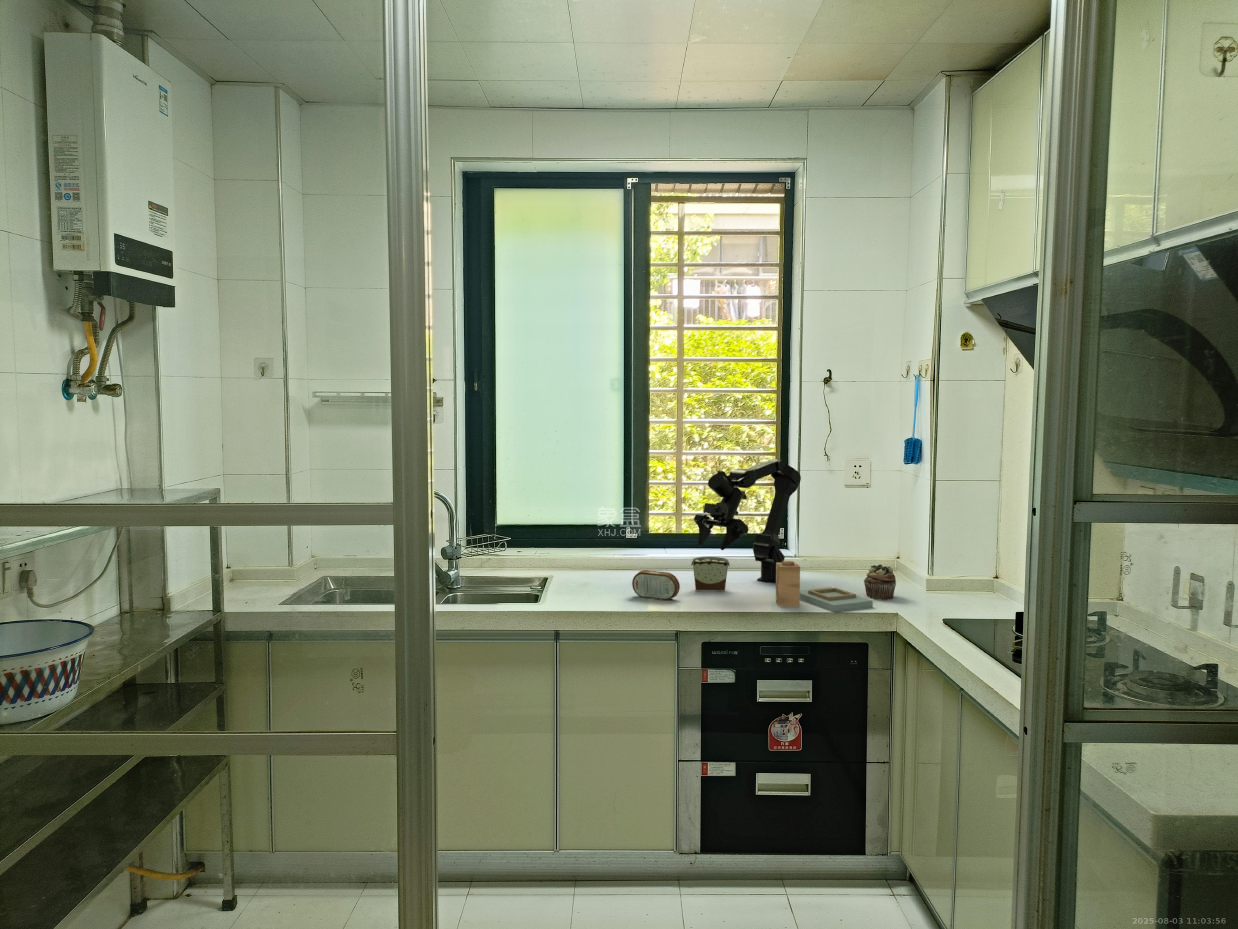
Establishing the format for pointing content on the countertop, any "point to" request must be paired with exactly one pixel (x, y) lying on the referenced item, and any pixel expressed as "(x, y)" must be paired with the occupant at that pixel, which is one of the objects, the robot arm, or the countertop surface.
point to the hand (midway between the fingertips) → (710, 547)
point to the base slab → (834, 599)
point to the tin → (655, 585)
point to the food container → (710, 573)
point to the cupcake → (880, 582)
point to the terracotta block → (788, 584)
